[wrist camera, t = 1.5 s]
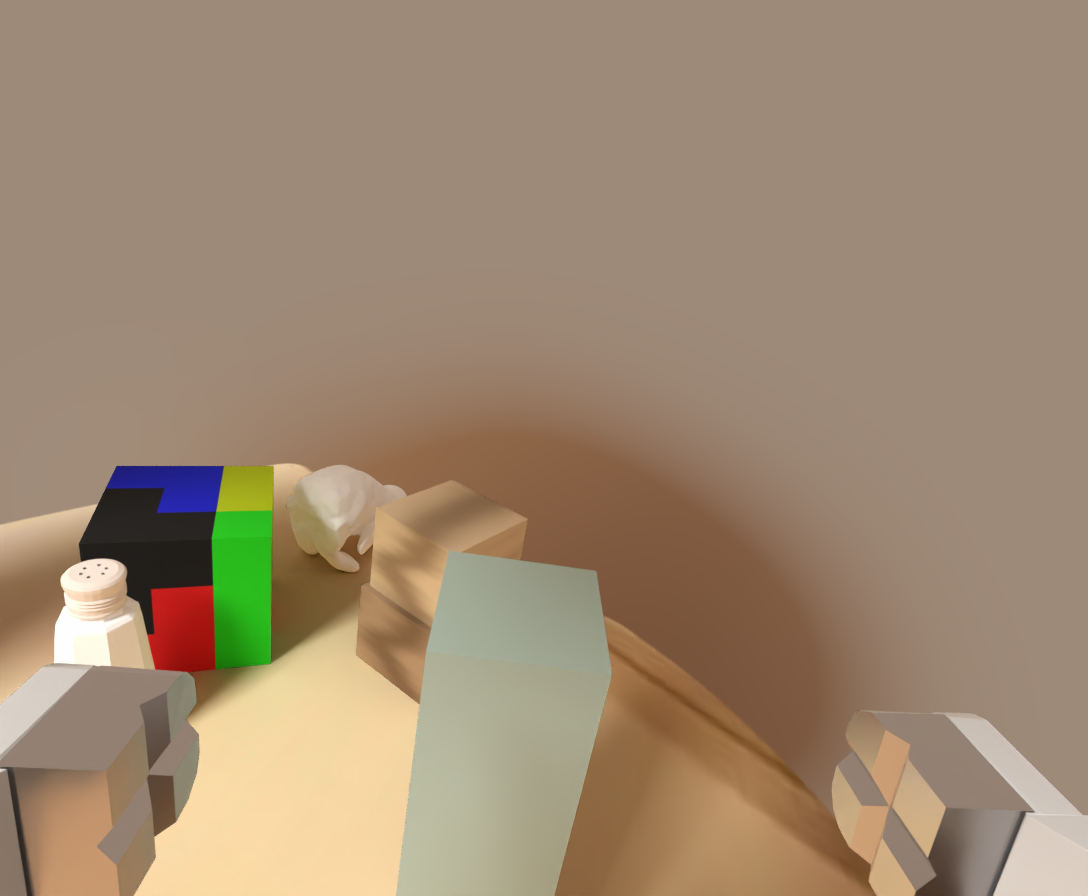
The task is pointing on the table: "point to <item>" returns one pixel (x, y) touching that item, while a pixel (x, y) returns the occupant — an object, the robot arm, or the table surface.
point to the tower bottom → (392, 641)
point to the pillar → (503, 727)
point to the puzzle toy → (193, 559)
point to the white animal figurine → (337, 512)
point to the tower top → (437, 541)
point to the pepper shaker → (100, 619)
